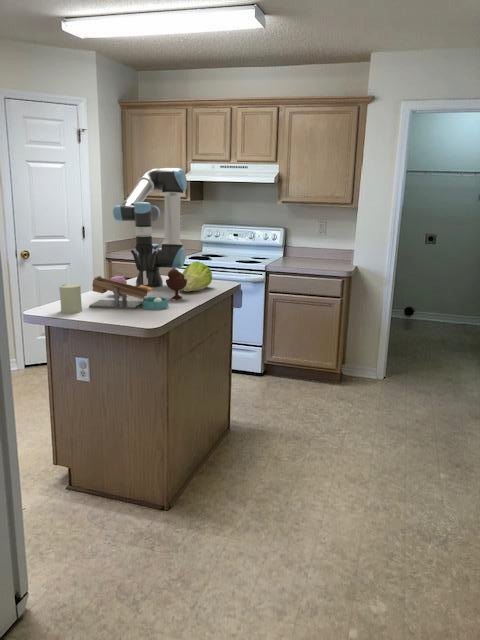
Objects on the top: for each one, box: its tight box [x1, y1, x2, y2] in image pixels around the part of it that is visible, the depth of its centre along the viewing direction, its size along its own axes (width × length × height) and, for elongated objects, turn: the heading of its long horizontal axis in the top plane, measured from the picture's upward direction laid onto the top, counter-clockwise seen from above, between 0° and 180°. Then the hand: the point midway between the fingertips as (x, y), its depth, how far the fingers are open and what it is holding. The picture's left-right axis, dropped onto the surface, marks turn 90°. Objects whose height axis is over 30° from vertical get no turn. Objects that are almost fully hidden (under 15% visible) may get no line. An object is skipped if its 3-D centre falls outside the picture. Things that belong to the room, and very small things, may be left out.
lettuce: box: [181, 260, 213, 292], centre depth 279 cm, size 15×24×16 cm
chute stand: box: [88, 287, 143, 310], centre depth 240 cm, size 13×22×10 cm, turn 83°
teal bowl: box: [141, 296, 169, 311], centre depth 239 cm, size 12×12×4 cm
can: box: [58, 283, 83, 314], centre depth 229 cm, size 9×9×12 cm
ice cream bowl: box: [165, 268, 187, 301], centre depth 256 cm, size 11×11×15 cm
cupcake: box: [109, 275, 128, 296], centre depth 264 cm, size 9×9×10 cm
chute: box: [91, 275, 154, 300], centre depth 244 cm, size 17×24×6 cm
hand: (145, 284), depth 249 cm, fingers closed
